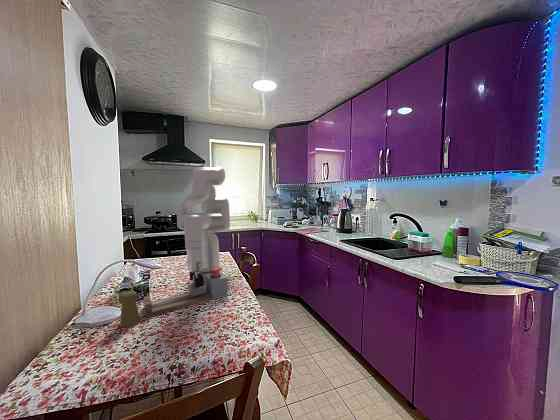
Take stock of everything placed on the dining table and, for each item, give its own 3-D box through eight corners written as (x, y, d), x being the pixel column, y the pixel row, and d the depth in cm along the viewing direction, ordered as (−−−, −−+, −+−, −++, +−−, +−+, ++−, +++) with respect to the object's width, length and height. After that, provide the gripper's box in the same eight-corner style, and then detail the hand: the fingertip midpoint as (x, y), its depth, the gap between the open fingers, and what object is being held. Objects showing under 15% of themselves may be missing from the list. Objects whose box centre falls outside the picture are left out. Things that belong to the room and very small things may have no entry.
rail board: (144, 306, 94) (143, 296, 94) (204, 291, 107) (203, 282, 107) (146, 317, 86) (145, 306, 85) (211, 299, 99) (210, 289, 99)
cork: (118, 329, 79) (116, 297, 78) (121, 320, 84) (119, 291, 83) (139, 324, 82) (137, 293, 81) (140, 316, 87) (138, 287, 86)
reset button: (208, 276, 106) (208, 268, 105) (219, 274, 108) (218, 266, 108) (211, 279, 101) (211, 271, 101) (222, 277, 104) (222, 269, 104)
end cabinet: (205, 291, 108) (204, 274, 107) (220, 287, 112) (219, 271, 111) (212, 299, 99) (211, 281, 99) (227, 294, 103) (227, 277, 103)
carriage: (188, 292, 102) (187, 273, 101) (202, 289, 105) (201, 271, 105) (192, 298, 96) (191, 278, 95) (206, 294, 99) (205, 275, 99)
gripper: (181, 241, 104) (183, 278, 105) (190, 249, 90) (192, 292, 91) (198, 239, 108) (200, 275, 110) (209, 246, 94) (211, 287, 95)
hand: (196, 282), depth 100 cm, fingers open, 9 cm apart
